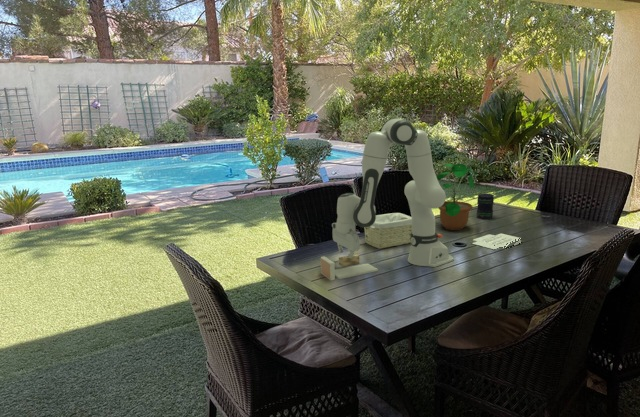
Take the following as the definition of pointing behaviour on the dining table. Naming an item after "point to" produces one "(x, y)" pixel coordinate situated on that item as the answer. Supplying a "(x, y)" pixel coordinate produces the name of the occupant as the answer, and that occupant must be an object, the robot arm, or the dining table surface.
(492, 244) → the paper stack
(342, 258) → the wooden handled scraper
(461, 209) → the potted plant
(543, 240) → the dining table surface
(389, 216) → the storage basket
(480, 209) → the storage jar
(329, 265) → the tile
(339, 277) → the tool rest
